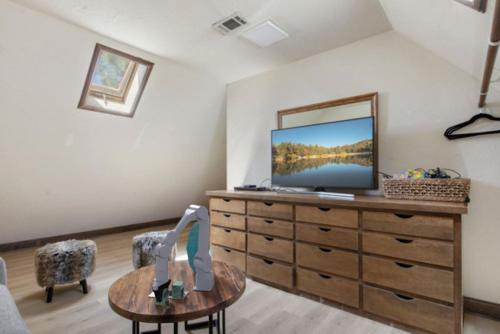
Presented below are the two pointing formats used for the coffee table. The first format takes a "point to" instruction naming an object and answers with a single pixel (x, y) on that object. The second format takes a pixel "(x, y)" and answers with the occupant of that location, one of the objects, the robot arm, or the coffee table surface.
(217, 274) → the coffee table surface
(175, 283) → the rail
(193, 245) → the crystal
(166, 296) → the block
